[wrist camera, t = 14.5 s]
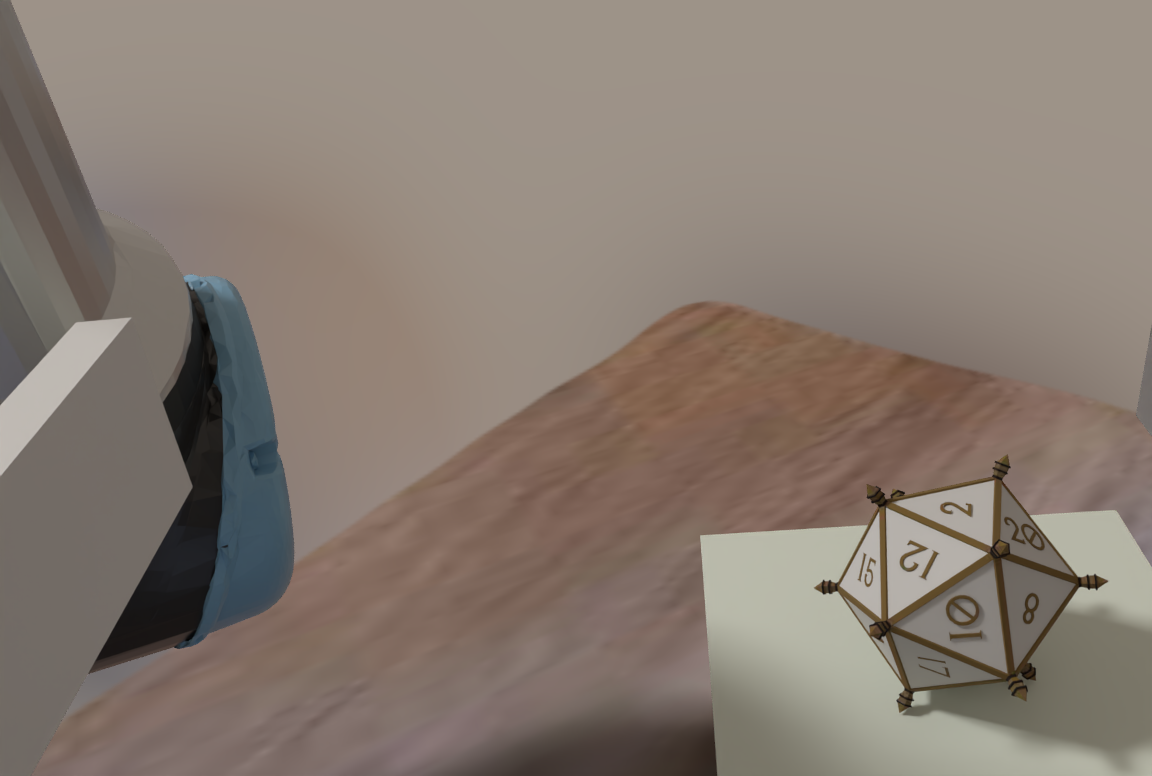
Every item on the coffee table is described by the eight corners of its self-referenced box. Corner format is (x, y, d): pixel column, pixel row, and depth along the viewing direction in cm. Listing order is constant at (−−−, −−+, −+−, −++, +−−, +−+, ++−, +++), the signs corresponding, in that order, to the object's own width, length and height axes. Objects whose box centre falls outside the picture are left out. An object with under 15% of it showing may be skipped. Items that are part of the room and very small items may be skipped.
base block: (733, 989, 36) (725, 894, 34) (707, 619, 52) (700, 535, 49) (1308, 979, 34) (1345, 877, 32) (1102, 598, 50) (1115, 509, 48)
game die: (951, 703, 44) (1048, 473, 43) (1074, 808, 36) (1196, 525, 35) (752, 633, 43) (850, 395, 42) (832, 725, 34) (955, 428, 34)
